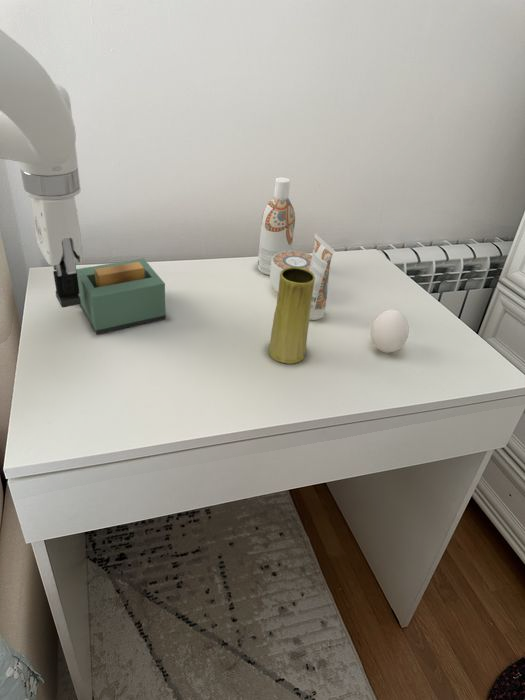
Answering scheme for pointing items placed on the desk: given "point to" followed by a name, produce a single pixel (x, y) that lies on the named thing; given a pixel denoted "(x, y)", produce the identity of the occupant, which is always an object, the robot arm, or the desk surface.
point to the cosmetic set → (279, 244)
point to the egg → (390, 331)
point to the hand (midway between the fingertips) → (68, 293)
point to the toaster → (121, 299)
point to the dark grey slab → (68, 300)
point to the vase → (292, 315)
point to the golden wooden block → (119, 274)
